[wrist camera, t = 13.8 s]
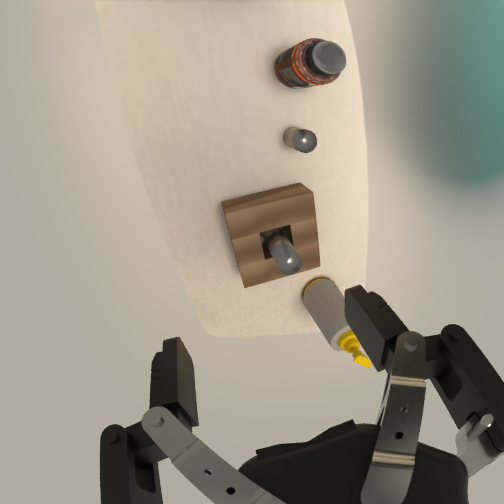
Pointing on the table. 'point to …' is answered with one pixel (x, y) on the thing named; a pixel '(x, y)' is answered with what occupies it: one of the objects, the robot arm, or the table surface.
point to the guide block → (270, 217)
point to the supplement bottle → (310, 63)
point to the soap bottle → (332, 317)
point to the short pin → (300, 139)
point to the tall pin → (282, 251)
